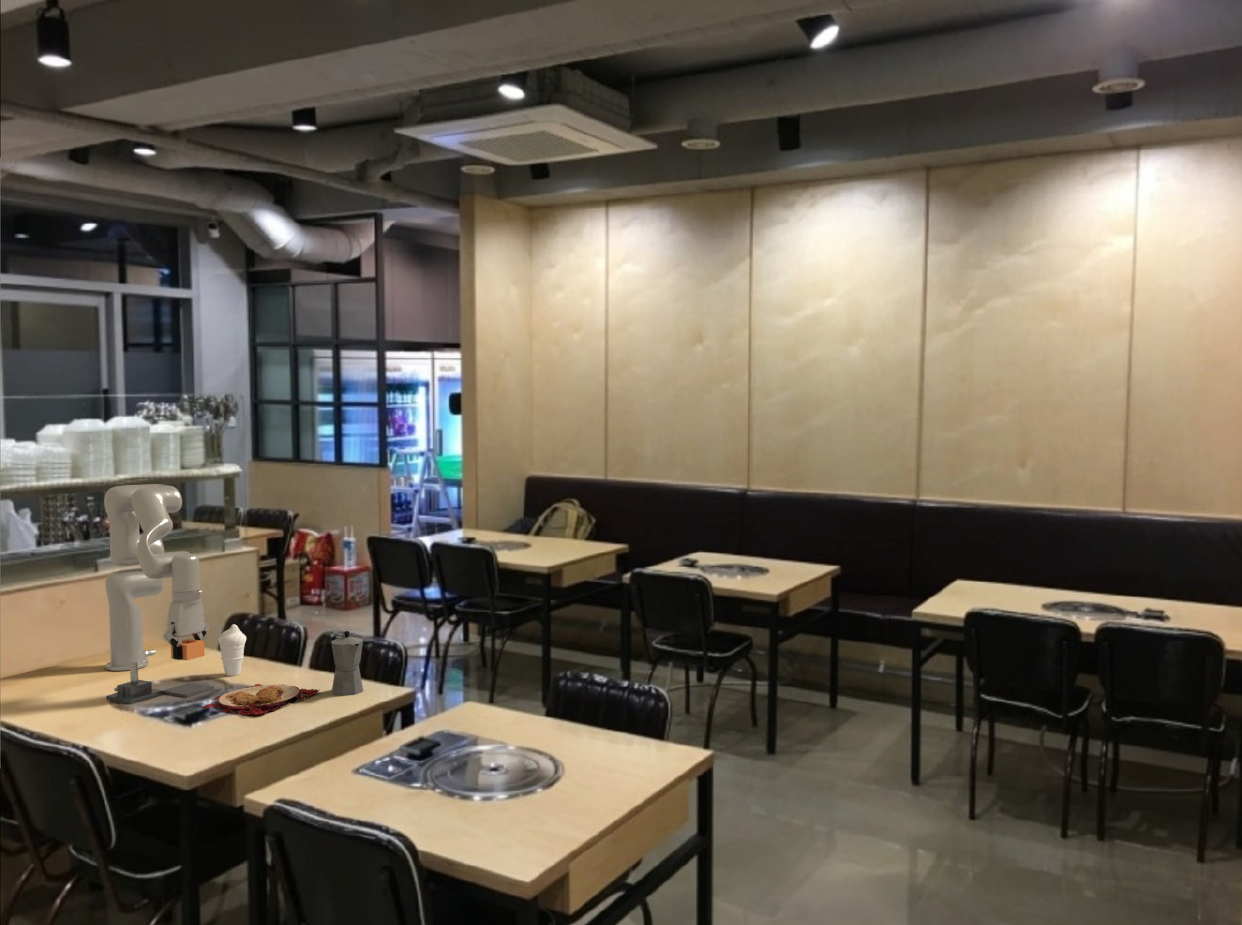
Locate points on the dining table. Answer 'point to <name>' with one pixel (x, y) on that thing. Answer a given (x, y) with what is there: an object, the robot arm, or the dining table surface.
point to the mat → (187, 690)
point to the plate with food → (259, 698)
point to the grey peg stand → (134, 689)
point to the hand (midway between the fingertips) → (187, 656)
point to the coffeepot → (347, 665)
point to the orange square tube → (191, 649)
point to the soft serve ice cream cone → (232, 650)
